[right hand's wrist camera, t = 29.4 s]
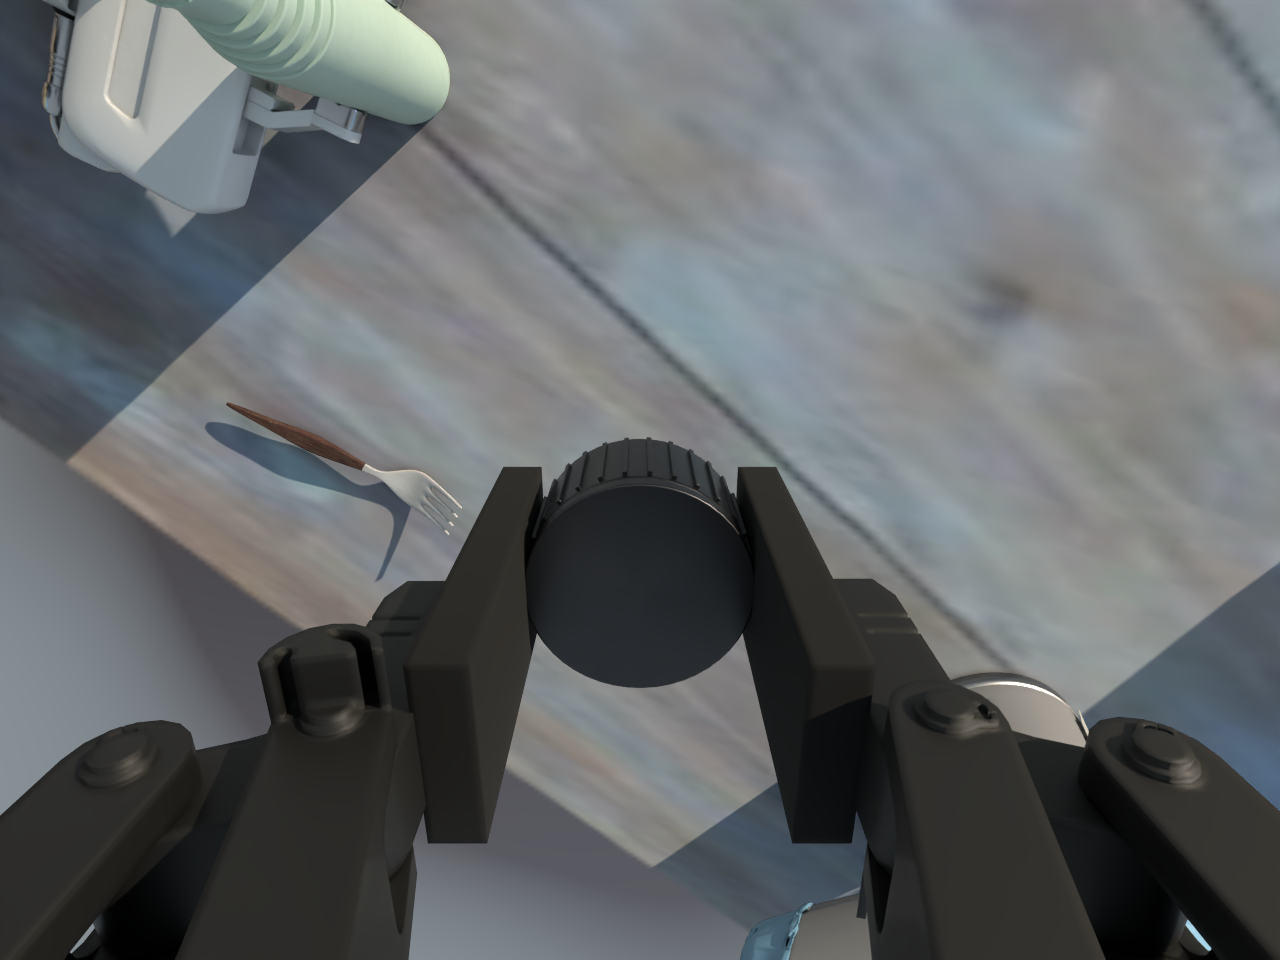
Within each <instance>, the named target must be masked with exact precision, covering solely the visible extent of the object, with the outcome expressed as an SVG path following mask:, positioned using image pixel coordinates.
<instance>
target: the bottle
mask: <svg viewBox="0 0 1280 960" xmlns="http://www.w3.org/2000/svg"><path fill="white" fill-rule="evenodd" d="M146 1H148V2H149V3H152V4H155V5H158V6H161V7H164V8H173V9H175V10H178V11H179V12H180V13H181V15H182V16H183V17H184V18H185V19H187V21H188V22H189V23H190V24H191V25H192V26H193V27H194V28H195V30H196V31H197V32H198V33H199V34H200V35H201V36H202V38H203V39H204V40H205V41H206V42H207V43H208V44H209V45H210V46H211V47H212V48H213V49H214V50H215V51H216V52H217V53H218V54H219V55H220V56H222V57H223V58H225V59H226V60H227V61H229V62H231V63H232V64H234V65H235V66H236V67H238V68H239V69H241V70H243V71H245V72H247V73H248V74H251V75H254V76H256V77H259V78H262V79H265V80H268V81H271V82H274V83H277V84H280V85H284V86H287V87H290V88H293V89H296V90H299V91H302V92H305V93H308V94H311V95H314V96H317V97H320V98H324V99H327V100H330V101H333V102H336V103H339V104H342V105H345V106H348V107H351V108H355V109H358V110H361V111H364V112H367V113H370V114H373V115H376V116H379V117H382V118H385V119H388V120H391V121H394V122H397V123H401V124H408V125H413V124H420V123H423V122H426V121H427V120H429V119H431V118H432V117H434V116H435V115H436V114H437V113H438V112H439V111H440V109H441V108H442V107H443V105H444V103H445V101H446V98H447V96H448V92H449V85H450V75H449V68H448V64H447V61H446V58H445V56H444V54H443V52H442V50H441V49H440V47H439V46H438V44H437V43H436V42H435V41H434V40H433V39H432V38H431V37H430V36H429V35H428V34H427V33H425V32H424V31H423V30H422V29H420V28H419V27H418V26H417V25H415V24H414V23H413V22H411V21H410V20H409V19H408V18H406V17H405V16H404V15H403V14H401V13H400V12H399V11H397V10H396V9H395V8H394V7H392V6H391V5H390V4H389V3H387V2H386V1H385V0H146Z"/></svg>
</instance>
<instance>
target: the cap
mask: <svg viewBox="0 0 1280 960" xmlns="http://www.w3.org/2000/svg"><path fill="white" fill-rule="evenodd" d="M746 537H748V535H747V531H746V528H745V525H744V522H743V519H742V516H741V513H740V510H739V507H738V503H737V500H736V497H735V495H734V493H732V494H731V493H730V491H729V489H728V487H727V483H726V480H725V478H724V476H721V477H720V476H719V474H718V473H717V472H716V471H715V470H714V469H713V468H712V466H711V463H710V462H709V461H707V462H705V461H704V460H703V459H701V458H700V457H698V456H697V455H695V454H694V452H693V450H691V449H689V451H688V450H686V449H684V448H682V447H679V446H677V445H674V444H673V442H671V441H669V442H668V443H667V442H663V441H658V440H651V438H649V437H647V439H631V440H629V438H624V440H622V441H617V442H613V443H609V444H607V442H606V443H603V445H602V446H600V447H598V448H596V449H594V450H592V451H590V452H587V451H585V452H584V453H583V455H582V456H581V457H580V458H578V459H577V460H576V461H574V462H573V463H572V464H571V465H570V464H569V463H568V464H567V465H566V468H565V471H564V472H563V473H562V474H561V475H560V477H559V478H558V479H557V480H556V479H554V480H553V482H552V485H551V488H550V491H549V495H548V497H545V496H544V499H543V502H542V505H541V508H540V511H539V514H538V517H537V520H536V523H535V526H534V529H533V533H532V536H531V539H530V541H533V544H532V547H531V550H530V553H529V557H528V560H527V564H526V567H525V585H526V600H527V611H528V614H529V617H530V620H531V622H532V624H533V626H534V628H535V630H536V632H537V634H538V635H539V637H540V638H541V640H542V641H543V643H544V644H545V645H546V646H547V647H548V648H549V649H550V651H551V652H552V653H553V654H554V655H555V656H556V657H558V658H559V659H560V660H561V661H562V662H563V663H565V664H566V665H568V666H569V667H571V668H572V669H574V670H575V671H577V672H579V673H581V674H583V675H585V676H587V677H589V678H592V679H594V680H597V681H600V682H603V683H607V684H611V685H616V686H622V687H633V688H647V687H658V686H664V685H669V684H673V683H676V682H680V681H683V680H686V679H688V678H690V677H693V676H695V675H697V674H699V673H701V672H702V671H704V670H706V669H708V668H709V667H711V666H712V665H713V664H715V663H716V662H717V661H719V660H720V659H721V658H722V657H723V656H724V655H725V654H726V653H727V652H728V651H730V649H731V648H732V647H733V646H734V644H735V643H736V642H737V641H738V639H739V638H740V636H741V634H742V633H743V631H744V630H745V628H746V626H747V623H748V621H749V619H750V616H751V613H752V608H753V593H754V577H755V570H754V565H753V561H752V558H751V551H750V548H749V545H748V542H747V539H746Z"/></svg>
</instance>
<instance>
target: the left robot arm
mask: <svg viewBox="0 0 1280 960" xmlns="http://www.w3.org/2000/svg"><path fill="white" fill-rule="evenodd" d="M41 1H43V2H45V3H47V4H50V5H52V6H53V8H54V9H55V13H54V18H53V24H52V30H51V36H50V44H49V51H50V52H49V58H50V59H49V65H48V70H49V71H48V72H47V77H46V80H44V82H43V85H42V91H41V106H42V109H43V110H44V111H46V112H48V113H49V120H50V125H51V128H52V131H53V133H54V136H55V137H56V139H57V140H58V143H59V145H60V147H61V148H62V149H63V150H65V151H66V152H67V153H68V154H70V155H72V156H73V157H75V158H77V159H79V160H81V161H83V162H85V163H87V164H90V165H92V166H94V167H96V168H98V169H100V170H102V171H105V172H108V173H113V174H124V175H125V176H127V177H128V178H130V179H131V180H133V181H135V182H136V183H138V184H140V185H141V186H143V187H145V188H146V189H148V190H150V191H152V192H153V193H155V194H157V195H159V196H160V197H162V198H164V199H166V200H168V201H170V202H171V203H173V204H175V205H177V206H179V207H181V208H183V209H186V210H188V211H191V212H195V213H202V214H220V213H225V212H228V211H232V210H235V209H238V208H241V207H243V206H244V205H245V204H246V202H247V199H248V196H249V192H250V189H251V185H252V181H253V178H254V174H255V170H256V166H257V163H258V159H259V155H260V152H261V148H262V144H263V141H264V137H265V133H266V129H271V130H277V131H282V132H287V133H292V132H303V131H315V130H325V131H327V132H329V133H331V134H333V135H335V136H337V137H339V138H341V139H344V140H346V141H349V142H352V143H357V144H359V142H360V139H361V136H362V133H363V129H364V126H365V123H366V120H367V116H368V114H367V113H365V112H363V111H361V110H358V109H355V108H351V107H348V106H345V105H342V104H339V103H336V102H333V101H330V100H327V99H324V98H320V97H319V100H318V103H317V106H316V109H310V110H295V111H294V108H295V107H294V104H293V103H291V102H289V101H288V100H286V99H284V98H282V97H280V96H278V95H276V92H277V89H278V85H279V84H277V83H274V82H271V81H268V80H265V79H262V78H259V77H256V76H254V75H251V74H248V73H247V72H245V71H243V70H241V69H239V68H238V67H236V66H235V65H234V64H232V63H231V62H229V61H227V60H226V59H225V58H223V57H222V56H220V55H219V54H218V53H217V52H216V51H215V50H214V49H213V48H212V47H211V46H210V45H209V44H208V43H207V42H206V41H205V40H204V39H203V38H202V36H201V35H200V34H199V33H198V32H197V31H196V30H195V28H194V27H193V26H192V25H191V24H190V23H189V22H188V21H187V19H185V18H184V17H183V16H182V15H181V13H180V12H179V11H178V10H175V9H173V8H164V7H161V6H158V5H155V4H152V3H149V2H148V1H146V0H41ZM385 1H386V2H387V3H389V4H390V5H391V6H392V7H394V8H395V9H397V10H401V7H402V4H403V1H404V0H385ZM60 117H62V118H61V123H60Z"/></svg>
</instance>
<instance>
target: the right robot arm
mask: <svg viewBox="0 0 1280 960" xmlns="http://www.w3.org/2000/svg"><path fill="white" fill-rule="evenodd" d="M736 500H737V503H738V507H739V510H740V513H741V516H742V519H743V522H744V525H745V528H746V531H747V535H748V537H746V539H747V542H748V545H749V548H750V551H751V558H752V561H753V565H754V570H755V577H754V593H753V608H752V613H751V616H750V619H749V621H748V623H747V626H746V628H745V630H744V631H743V637H744V641H745V645H746V649H747V654H748V658H749V662H750V666H751V670H752V675H753V679H754V683H755V687H756V692H757V696H758V700H759V704H760V708H761V713H762V717H763V721H764V725H765V730H766V734H767V738H768V742H769V746H770V751H771V755H772V759H773V763H774V768H775V772H776V776H777V780H778V785H779V789H780V793H781V797H782V801H783V806H784V810H785V814H786V818H787V823H788V827H789V831H790V835H791V839H792V843H852V837H853V829H854V822H855V815H856V810H857V813H858V816H859V819H860V822H861V824H862V827H863V830H864V833H865V836H866V839H867V841H868V843H867V849H866V856H865V863H864V869H863V876H862V882H861V889H860V894H856V895H852V896H847V897H843V898H839V899H835V900H831V901H827V902H822V903H818V904H814V903H813V902H810V903H806V904H804V905H802V906H801V907H800V908H799V909H798V910H796V911H793V912H789V913H786V914H783V915H780V916H776V917H773V918H770V919H767V920H764V921H762V922H760V923H758V924H757V925H756V926H755V927H754V928H753V929H752V930H751V932H750V933H749V935H748V936H747V938H746V941H745V944H744V947H743V949H742V953H741V958H740V960H1280V811H1279V810H1278V809H1277V808H1275V807H1274V806H1273V805H1272V804H1271V803H1270V802H1269V801H1268V800H1267V799H1266V798H1264V797H1263V796H1262V795H1261V794H1260V793H1259V792H1258V791H1257V790H1256V789H1255V788H1253V787H1252V786H1251V785H1250V784H1249V783H1248V782H1247V781H1246V780H1245V779H1244V778H1242V777H1241V776H1240V775H1239V774H1238V773H1237V772H1236V771H1235V770H1234V769H1233V768H1231V767H1230V766H1229V765H1228V764H1227V763H1226V762H1225V761H1224V760H1223V759H1222V758H1220V757H1219V756H1218V755H1217V754H1215V753H1214V752H1212V751H1211V750H1210V749H1208V748H1207V747H1206V746H1204V745H1203V744H1201V743H1200V742H1199V741H1197V740H1195V739H1193V738H1191V737H1189V736H1187V735H1185V734H1183V733H1181V732H1179V731H1177V730H1175V729H1173V728H1171V727H1168V726H1165V725H1162V724H1159V723H1158V724H1157V723H1155V722H1151V721H1147V720H1144V719H1135V718H1124V717H1116V718H1111V719H1105V720H1100V721H1099V722H1098V723H1096V724H1095V725H1094V726H1093V727H1092V728H1091V729H1090V730H1089V731H1088V729H1087V726H1086V724H1085V722H1084V720H1083V717H1082V715H1081V713H1080V716H1081V721H1082V723H1081V721H1080V719H1079V718H1078V716H1077V715H1076V714H1075V712H1074V711H1073V710H1072V709H1071V708H1070V706H1069V705H1068V704H1067V703H1066V702H1065V701H1064V699H1063V698H1062V697H1061V696H1060V695H1059V694H1057V693H1056V692H1055V691H1054V690H1053V689H1051V688H1050V687H1048V686H1047V685H1045V684H1043V683H1041V682H1039V681H1036V680H1034V679H1031V678H1028V677H1025V676H1021V675H1016V674H1010V673H980V674H973V675H968V676H964V677H960V678H957V679H953V680H950V679H949V677H948V676H947V674H946V673H945V671H944V670H943V668H942V667H941V665H940V664H939V662H938V660H937V659H936V657H935V656H934V654H933V653H932V651H931V650H930V648H929V646H928V645H927V643H926V642H925V640H924V639H923V637H922V636H921V634H918V629H917V628H916V626H915V625H914V623H913V622H912V620H911V619H910V618H908V616H907V615H908V614H907V612H906V611H905V609H904V608H903V606H902V605H901V603H900V602H899V600H898V598H897V597H896V595H894V594H893V593H892V592H890V591H889V590H887V589H886V588H884V587H883V586H882V585H880V584H879V583H877V582H876V581H874V580H873V579H833V578H832V576H831V574H830V572H829V570H828V568H827V566H826V564H825V562H824V560H823V558H822V556H821V554H820V552H819V550H818V548H817V546H816V544H815V542H814V540H813V539H812V537H811V535H810V533H809V531H808V529H807V527H806V525H805V523H804V521H803V519H802V517H801V515H800V513H799V511H798V509H797V507H796V505H795V503H794V501H793V499H792V497H791V495H790V493H789V491H788V489H787V487H786V486H785V484H784V482H783V480H782V478H781V476H780V474H779V472H778V470H777V468H776V467H738V478H737V497H736ZM542 502H543V487H542V468H541V467H503V469H502V471H501V473H500V475H499V477H498V479H497V481H496V483H495V485H494V487H493V488H492V490H491V492H490V494H489V496H488V498H487V500H486V502H485V504H484V506H483V508H482V510H481V512H480V514H479V516H478V518H477V520H476V522H475V524H474V526H473V528H472V530H471V532H470V534H469V536H468V538H467V540H466V541H465V543H464V545H463V547H462V549H461V551H460V553H459V555H458V557H457V559H456V561H455V563H454V565H453V567H452V569H451V571H450V573H449V575H448V577H447V579H446V581H407V582H406V583H404V584H403V585H402V586H400V587H399V588H397V589H396V590H394V591H393V592H392V593H390V594H389V595H387V596H386V597H384V599H383V601H382V602H381V604H380V605H379V607H378V608H377V610H376V612H375V613H374V615H373V616H372V620H370V621H369V622H368V624H367V626H366V627H364V626H360V625H356V624H329V625H324V626H319V627H314V628H309V629H306V630H304V631H301V632H299V633H296V634H294V635H291V636H289V637H286V638H285V639H283V640H282V641H280V642H279V643H277V644H276V645H274V646H272V647H271V648H269V649H268V650H267V652H266V653H265V654H264V655H263V657H262V658H261V659H260V660H259V661H258V667H259V671H260V675H261V680H262V684H263V689H264V693H265V697H266V702H267V706H268V711H269V715H270V719H271V725H270V728H269V730H268V733H267V734H264V735H261V736H257V737H254V738H250V739H247V740H242V741H237V742H233V743H228V744H223V745H219V746H215V747H209V748H205V749H200V750H196V749H195V746H194V743H193V739H192V735H191V733H190V732H189V731H188V730H187V729H186V728H185V727H184V726H182V725H181V724H179V723H174V722H169V721H164V720H158V721H148V722H138V723H134V724H130V725H126V726H124V727H119V728H116V729H113V730H110V731H108V732H106V733H104V734H102V735H100V736H98V737H96V738H94V739H92V740H90V741H88V742H86V743H84V744H82V745H81V746H80V747H78V748H77V749H75V750H74V751H73V752H71V753H70V754H69V755H67V756H66V757H64V758H63V759H62V760H60V761H59V762H58V763H57V764H56V765H55V766H54V767H53V768H52V769H51V770H50V771H48V772H47V773H46V774H45V775H44V776H43V777H42V778H41V779H40V780H39V781H38V782H37V783H35V784H34V785H33V786H32V787H31V788H30V789H29V790H28V791H27V792H26V793H25V794H23V795H22V796H21V797H20V798H19V799H18V800H17V801H16V802H15V803H14V804H12V805H11V806H10V807H9V808H8V809H7V810H6V811H5V812H4V813H3V814H2V815H0V960H408V958H409V948H410V938H411V928H412V919H413V908H414V899H415V888H416V879H417V869H416V863H415V856H414V849H413V841H414V838H415V835H416V832H417V830H418V827H419V824H420V821H421V818H422V815H423V812H424V819H425V826H426V833H427V840H428V843H487V842H488V837H489V833H490V829H491V825H492V820H493V816H494V812H495V808H496V804H497V799H498V795H499V791H500V787H501V783H502V778H503V774H504V770H505V766H506V761H507V757H508V753H509V749H510V745H511V740H512V736H513V732H514V728H515V723H516V719H517V715H518V711H519V707H520V702H521V698H522V694H523V690H524V685H525V681H526V677H527V673H528V669H529V664H530V660H531V656H532V652H533V647H534V643H535V639H536V635H537V632H536V630H535V628H534V626H533V624H532V622H531V620H530V617H529V614H528V611H527V600H526V585H525V567H526V564H527V560H528V557H529V553H530V550H531V547H532V544H533V541H530V539H531V536H532V533H533V529H534V526H535V523H536V520H537V517H538V514H539V511H540V508H541V505H542ZM1079 712H1080V711H1079ZM92 923H93V924H94V927H95V929H94V930H93V931H92V932H91V934H90V935H89V936H88V937H87V939H86V940H85V941H84V942H83V943H82V944H81V945H80V946H79V947H78V948H77V949H76V950H75V951H74V952H73V953H72V954H71V953H70V951H71V950H72V948H73V947H74V946H75V945H76V943H77V942H78V941H79V940H80V938H81V937H82V936H83V935H84V933H85V932H86V931H87V930H88V928H89V927H90V926H91V925H92Z"/></svg>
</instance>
